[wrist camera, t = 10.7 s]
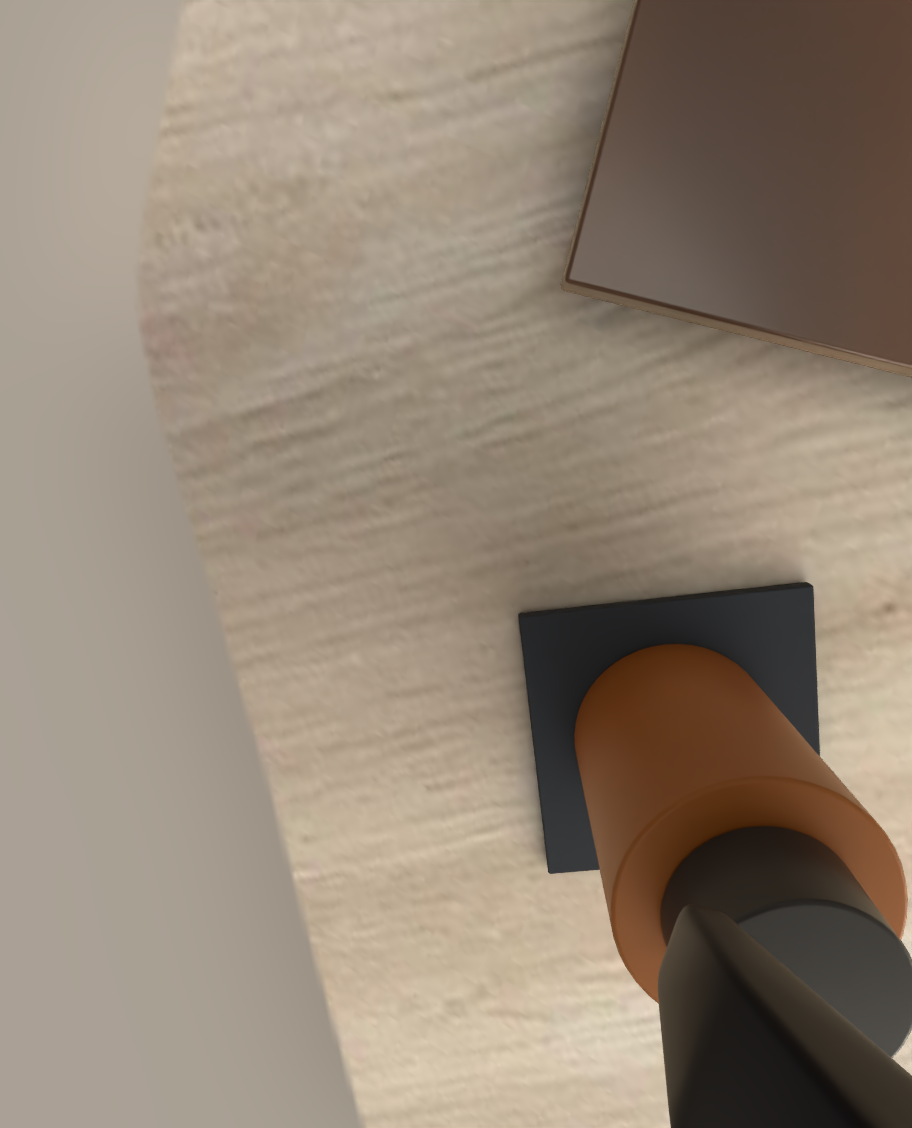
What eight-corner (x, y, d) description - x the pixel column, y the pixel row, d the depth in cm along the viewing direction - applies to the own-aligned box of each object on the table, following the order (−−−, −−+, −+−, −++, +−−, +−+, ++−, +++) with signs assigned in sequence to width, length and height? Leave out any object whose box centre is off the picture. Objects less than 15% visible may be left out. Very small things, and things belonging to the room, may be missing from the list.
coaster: (547, 865, 22) (548, 874, 21) (518, 612, 20) (518, 617, 20) (818, 843, 21) (824, 852, 21) (807, 581, 20) (814, 585, 19)
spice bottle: (583, 830, 21) (643, 1153, 12) (564, 653, 20) (615, 863, 11) (774, 814, 20) (980, 1135, 12) (765, 632, 19) (982, 833, 11)
